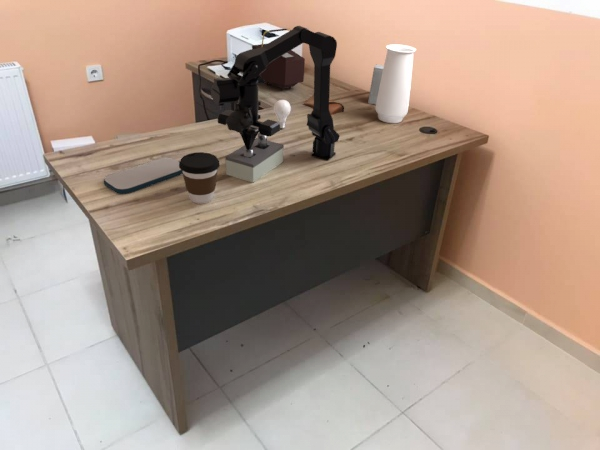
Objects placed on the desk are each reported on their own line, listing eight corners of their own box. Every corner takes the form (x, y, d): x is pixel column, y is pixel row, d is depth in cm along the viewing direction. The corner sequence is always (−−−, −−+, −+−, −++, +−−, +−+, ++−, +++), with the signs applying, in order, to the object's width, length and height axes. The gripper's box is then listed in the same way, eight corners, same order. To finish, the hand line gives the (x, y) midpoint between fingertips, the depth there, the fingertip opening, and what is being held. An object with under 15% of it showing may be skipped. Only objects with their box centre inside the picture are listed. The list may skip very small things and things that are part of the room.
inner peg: (268, 150, 159) (268, 133, 156) (263, 153, 157) (263, 137, 154) (260, 147, 161) (260, 131, 158) (255, 151, 158) (255, 134, 155)
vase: (406, 126, 196) (419, 53, 181) (373, 122, 198) (383, 50, 183) (405, 115, 207) (417, 45, 192) (374, 111, 209) (384, 42, 194)
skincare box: (367, 104, 217) (372, 67, 208) (370, 99, 223) (375, 63, 214) (387, 106, 215) (392, 70, 206) (389, 102, 221) (394, 65, 212)
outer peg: (255, 165, 155) (255, 148, 152) (249, 168, 152) (249, 152, 149) (247, 162, 156) (247, 146, 153) (241, 166, 153) (241, 149, 150)
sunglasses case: (299, 103, 212) (306, 89, 211) (309, 109, 218) (315, 94, 217) (330, 115, 202) (337, 100, 201) (339, 121, 207) (346, 106, 206)
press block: (283, 161, 163) (283, 144, 160) (253, 182, 150) (253, 164, 146) (257, 154, 167) (257, 137, 164) (226, 174, 153) (225, 156, 150)
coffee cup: (174, 197, 140) (170, 158, 134) (206, 185, 147) (204, 148, 140) (196, 212, 134) (193, 172, 127) (229, 199, 140) (227, 161, 134)
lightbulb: (290, 126, 190) (292, 98, 184) (288, 132, 185) (290, 103, 179) (274, 124, 191) (275, 96, 185) (272, 130, 185) (272, 102, 179)
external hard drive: (168, 161, 160) (168, 155, 159) (190, 173, 154) (189, 167, 153) (100, 183, 145) (99, 177, 144) (121, 198, 139) (120, 191, 138)
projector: (277, 77, 244) (278, 23, 230) (307, 90, 229) (311, 33, 215) (249, 82, 234) (249, 26, 221) (279, 96, 220) (281, 37, 206)
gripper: (204, 100, 140) (207, 151, 148) (260, 113, 133) (260, 166, 141) (227, 90, 148) (229, 139, 157) (281, 102, 141) (280, 153, 150)
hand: (248, 149), depth 151 cm, fingers closed, pressing on outer peg
